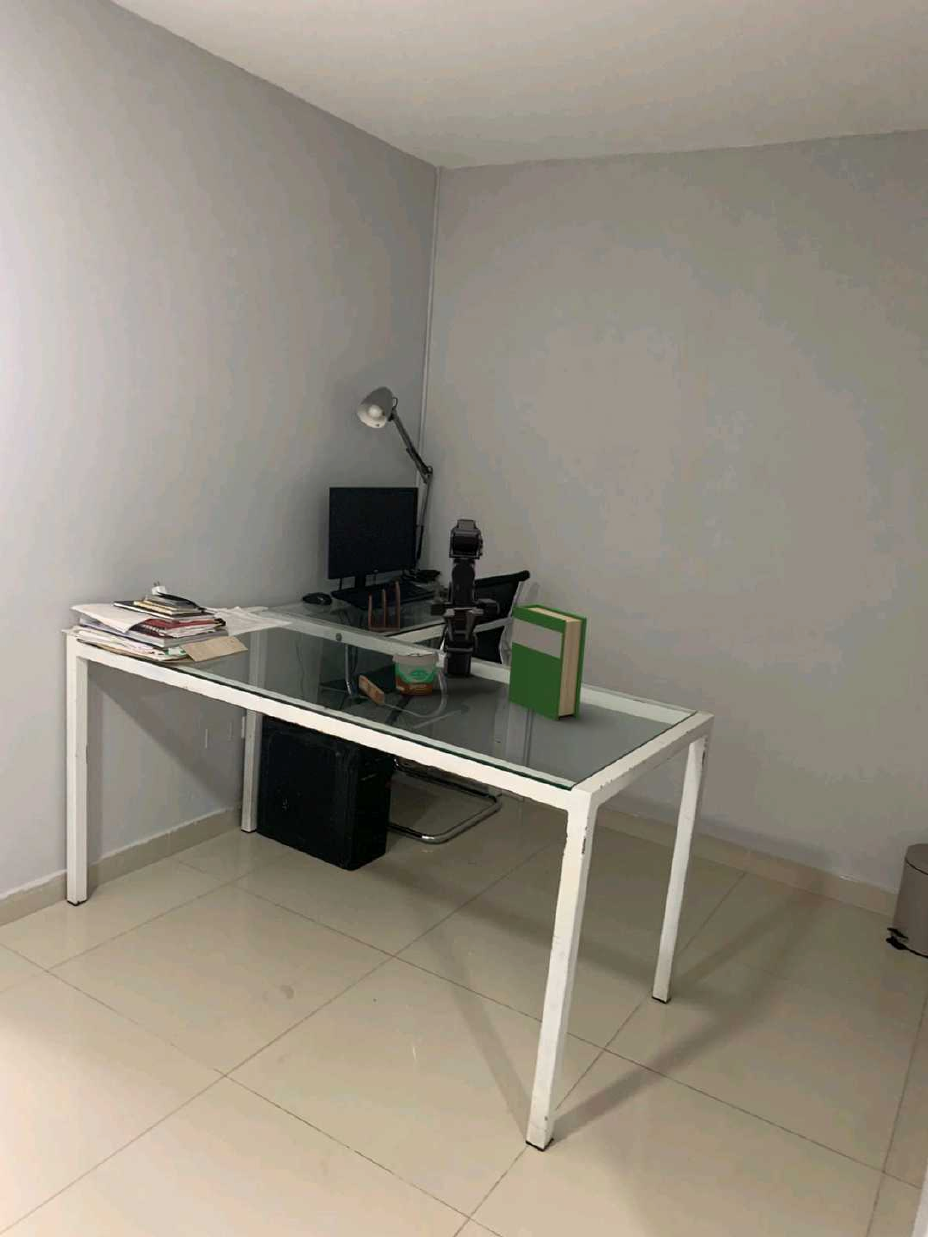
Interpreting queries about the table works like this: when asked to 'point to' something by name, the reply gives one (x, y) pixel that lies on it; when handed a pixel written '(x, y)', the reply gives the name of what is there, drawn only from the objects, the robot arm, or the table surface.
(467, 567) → the robot arm
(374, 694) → the rail
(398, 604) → the letter holder
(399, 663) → the food container
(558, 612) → the hardback book
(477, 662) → the table surface
